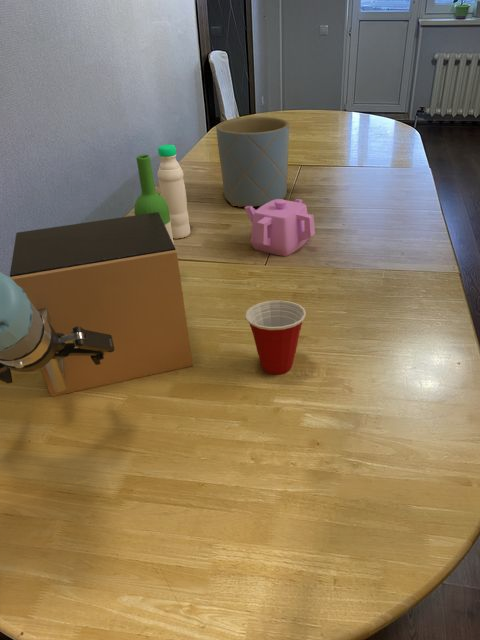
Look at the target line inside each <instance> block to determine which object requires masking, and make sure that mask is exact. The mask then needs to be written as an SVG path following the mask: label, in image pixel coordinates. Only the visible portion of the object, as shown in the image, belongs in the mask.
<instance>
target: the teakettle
mask: <svg viewBox="0 0 480 640" xmlns="http://www.w3.org/2000/svg"><path fill="white" fill-rule="evenodd" d="M244 210H245V212H246V214H247V216H248V219H249V220H250V223H251V232H250V233H251V235H250V236H251V237H250V241H251V245H252V248H253V250H254V251H258V252H263V253H267V254H271V255H275V256H280V257H288V256H290V255H293V253H295V252H296V251H299V250H300V248H302V247H303V246H305V244H306V243H307V242H308V240H309V239H311V238H312V237H314V236H315V235H316V231H315V217H314V215H313V214H312V213H311V214H310V213H308V209H307V205H306V203H303V199H302V198H301V199H300V198H296V199H294V201H292V200H286V199H275V200H272V201H270V202H268V203H266V204H264V205H263V206H259V207H258V208H257V209H255V208H254V206H244Z"/></svg>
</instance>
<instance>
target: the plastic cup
mask: <svg viewBox="0 0 480 640" xmlns="http://www.w3.org/2000/svg"><path fill="white" fill-rule="evenodd" d="M306 316H307V312H306V309H305V308H304V307H303V306H302V305H301V304H300V303H296V302H293V301H288V300H282V299H278V300H277V299H276V300H266V301H264V302H258V303H257V304H254V305H252V306H250V307H249V308H248V309H247V310H246V311H245V320H246V321H247V322H248V324H249V327H250V329H251V330H250V331H251V332H252V335H253V340H254V343H255V348H256V352H257V354H258V357H259V358H258V359H259V362H260V366H261V368H262V370H264V372H266V373H268V374H270V375H274V376H277V375H284V374H286V373H288V372H289V371H291V369H292V367H293V365H294V360H295V356H296V353H297V348H298V343H299V338H300V332H301V330H302V325H303V322H304V319H306Z"/></svg>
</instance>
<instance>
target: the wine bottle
mask: <svg viewBox="0 0 480 640" xmlns="http://www.w3.org/2000/svg"><path fill="white" fill-rule="evenodd" d="M135 160H136V165H137V172H138V176H139V183H140V190H141V193H140V195H138V197H137V199H136V201H135V204H134V216H135V215H142V214H149V213H156V212H159V214H160V216H161V219H162V221H163V223H164V225H165V227H166V229H167V231H168V234H169V236H170V238H171V240H172V242H173V244H174V245H175V242H174V239H173V235H172V228H171V221H170V215H169V208H168V205H167V203H166V201H165V199H164V198H163V197H162V196H161V195H160V193H158V192H157V190H156V185H155V179H154V172H153V166H152V160H151V156H150V155H149V154H140V155H137V156H136V159H135Z"/></svg>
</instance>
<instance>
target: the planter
mask: <svg viewBox="0 0 480 640" xmlns="http://www.w3.org/2000/svg"><path fill="white" fill-rule="evenodd" d="M215 131H216V137H217V148H218V156H219V163H220V164H219V165H220V171H221V177H222V179H221V180H222V187H223V194H224V195H223V196H224V198H225V200H226V201H228V202H229V204H230V205H231V206H232V205H234V206H238V207H237V208H240V207H247V206H252V207H261V206H263V205H264V204H266V203H268V202H270V201H272V200H275V199H283V200H285V198H286V196H287V194H288V171H289V167H288V166H289V153H290V151H289V147H290V123H289V121H288V120H285V119H283V118H280V117H279V118H278V117H271V116H247V117H246V116H245V117H244V116H243V117H235V118H231V119H227V120H223V121H221V122H219V123H218V124H217V125H216V127H215Z"/></svg>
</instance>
